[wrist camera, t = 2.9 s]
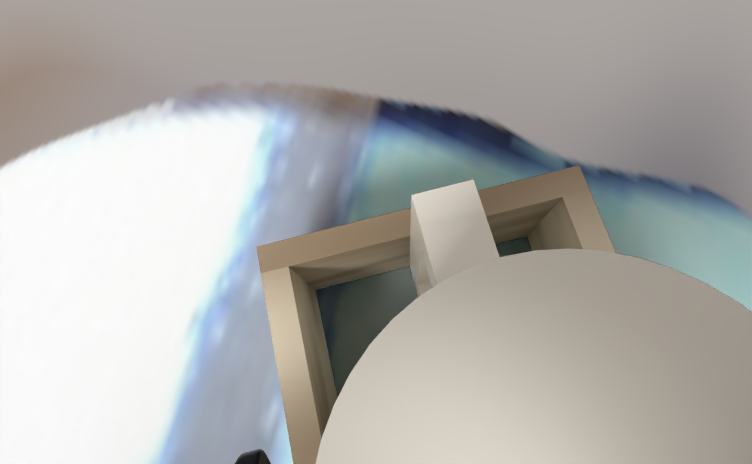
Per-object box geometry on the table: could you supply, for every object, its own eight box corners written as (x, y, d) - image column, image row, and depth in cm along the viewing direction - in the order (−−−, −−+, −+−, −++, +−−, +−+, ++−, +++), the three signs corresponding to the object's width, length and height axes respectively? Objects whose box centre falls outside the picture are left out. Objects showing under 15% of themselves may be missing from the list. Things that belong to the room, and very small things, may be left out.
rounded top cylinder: (586, 496, 14) (1083, 847, 4) (401, 545, 14) (383, 1032, 4) (505, 256, 17) (671, 62, 6) (345, 296, 17) (238, 170, 6)
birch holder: (662, 536, 14) (760, 599, 10) (355, 616, 14) (336, 710, 10) (540, 210, 17) (579, 165, 13) (290, 274, 17) (256, 246, 13)
